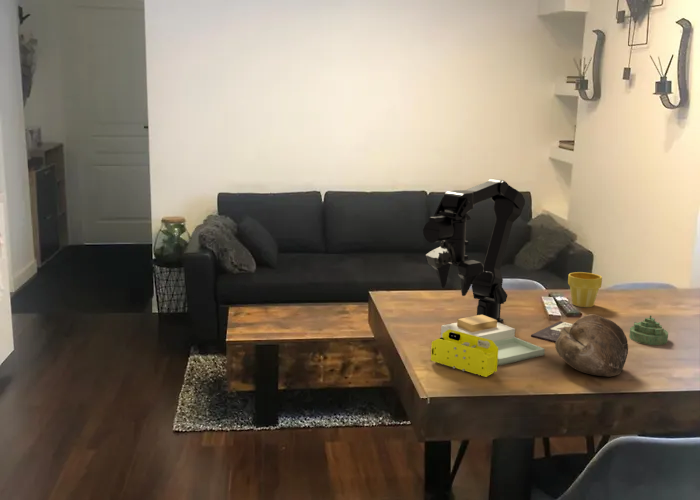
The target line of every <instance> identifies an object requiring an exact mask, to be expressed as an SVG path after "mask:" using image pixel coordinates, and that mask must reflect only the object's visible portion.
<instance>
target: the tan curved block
mask: <svg viewBox="0 0 700 500" xmlns="http://www.w3.org/2000/svg"><path fill="white" fill-rule="evenodd" d="M456 323H457V326H458V327H461V328H463V329H465V330H468V331H470V332H475V331H480V330H485V329H490V328H495V327H497V320H495V319H493V318H490V317H487V316H485V315H477V314H476V315H472V316H467V317H463V318H457V321H456Z"/></svg>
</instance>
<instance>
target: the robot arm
mask: <svg viewBox="0 0 700 500" xmlns="http://www.w3.org/2000/svg"><path fill="white" fill-rule="evenodd" d="M488 199H490V200H491V201H492V202H493V203H494V204H493V212H494V215H495V222H494V226H493V229H492V233H491V237H490V241H489V245H488V248H487V252H486V256H485V259H484V264H483V263H482V262H481V261H479V260H474V259H470V260H469V255H466V246H469V242H470V241H468V240H466V237H467V236H466V234H467V228H466V227H467V221H471V219H472V217H471V216H470V215H469V214H468V213H469V212H470V211H472V210H473V209H474V207H475V205H476V204H478V203H481V202H484V201H486V200H488ZM525 203H526V198H525V197H524V195H523V193H522V192H520V191H519V190H518V189H515V188H514V187H512V186H511V185H509V183H507V182H506V181H505V180H503V179H498V178H491V179H489V180H487V181H485V182H483V183H480V184H478V185H475V186H472V187H470V188H468V189H464V190H461V189H460V190H448V191H446V192H444V193H443V196H442V198H441V199H440V201H439V204H438V206H437V208H436V211H434V215H433V216H430V217H429V219H428V220H429V221H427V222H426V223H425V224H424V225H423V229H422V232H423V233H422V234H423V237H424V239H425V240H426V242H428V243H430V244H434V243H438V242H440V243H439V245H440V246H439V247H436V248H434V249H432V250H431V251H428V252H427V253H426V254H425V256H426V257H425V261H426V262H427V263H428V266H431V267H432V268H433V269H434V270H435V272H436V275H437V278H438V281H439V285H440V288H441V289H444V288H446V285H447V281H448V277H449V272H450V268H451V265H452V266H454V267H457V271H458V273H457V275H458V277H459V278H460V283H461V284H460V292H461V296H462V297H465V296H466V295H467V293H468V292H469V290H470V288H471V292H472V294H473V295H472V296H473V299H476V300H478V303H477V306H476V316H477V315H485V316H487V317H490V318H493V319H495V320H497V322H499V323H501V322H504V318H501V310H502V309H501V307H502V305H504V304H505V303H507V299H508V293H507V292H506V291H505V289H504V287H503V282H504V279H503V276H502V275H503V274H502V272H501V268H502V264H503V261H504V256H505V253H506V249H507V245H508V242H509V237H510V235H511V231H512V228H513V224H514V222H515V221H516V220H517V219H518V218H519V217H520V216H521V214H522V212H523V209H524V207H525Z"/></svg>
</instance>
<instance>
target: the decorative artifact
mask: <svg viewBox="0 0 700 500" xmlns="http://www.w3.org/2000/svg"><path fill="white" fill-rule="evenodd" d="M652 316H653V315H649V317H645V318H644V320H643V321H638V322H634V323H633V326H630V328H629V336H628V338H629V340H632V341H633V342H636V343H639V344H643V345H649V346H650V345H651V346H662V345H666V344H667V343H668V339H669V332H668V331H667V330H665V329H664V328H663V325H661V324H660V322H657V321H656V318H654V317H652Z"/></svg>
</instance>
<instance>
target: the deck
mask: <svg viewBox="0 0 700 500" xmlns="http://www.w3.org/2000/svg"><path fill="white" fill-rule="evenodd" d="M440 327H441V328H440V338H441V337H442V333H444V332H446V331H447V330H449V329H450V330H454V331H458V332H462V333H466V334H470V335H473V336H477V337H481V338H485V339H489V340H492V341H497V340H502V339H507V338H512V337H516V336H515V335H516V328H514V327H512V326H509V325H506V324H504V323H501V322H497V327H495V328H490V329H485V330H480V331H475V332H470V331H468V330H465V329H463V328H461V327H458V326H457V322H453V323H448V324H441V326H440ZM452 333H454V332H452ZM451 336H452V335H451ZM486 342H488V341H486Z"/></svg>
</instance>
